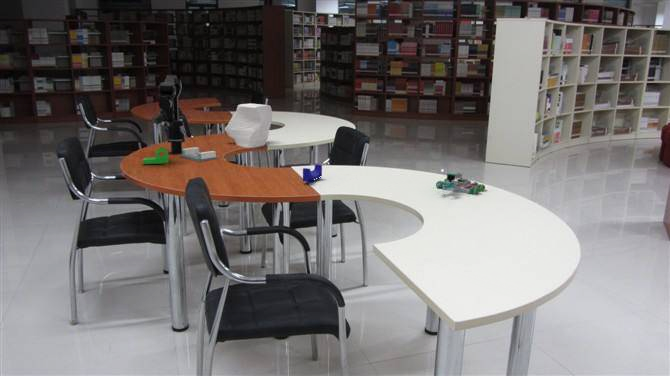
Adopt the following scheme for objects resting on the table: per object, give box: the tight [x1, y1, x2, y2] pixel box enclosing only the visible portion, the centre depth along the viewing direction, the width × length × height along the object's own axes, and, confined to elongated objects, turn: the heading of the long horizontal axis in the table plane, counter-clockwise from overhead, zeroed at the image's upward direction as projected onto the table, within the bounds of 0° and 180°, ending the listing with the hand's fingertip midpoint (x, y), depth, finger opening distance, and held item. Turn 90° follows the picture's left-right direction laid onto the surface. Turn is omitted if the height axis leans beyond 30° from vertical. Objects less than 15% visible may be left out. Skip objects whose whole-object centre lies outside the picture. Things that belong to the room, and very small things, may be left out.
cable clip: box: [302, 163, 323, 183], centre depth 251 cm, size 12×4×6 cm, turn 152°
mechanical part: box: [142, 146, 170, 165], centre depth 281 cm, size 12×6×8 cm, turn 101°
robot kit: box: [435, 172, 486, 196], centre depth 230 cm, size 19×25×9 cm
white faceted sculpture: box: [224, 103, 273, 149], centre depth 330 cm, size 21×27×26 cm
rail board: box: [179, 146, 219, 163], centre depth 295 cm, size 18×12×4 cm, turn 47°
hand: (169, 138), depth 282 cm, fingers closed
